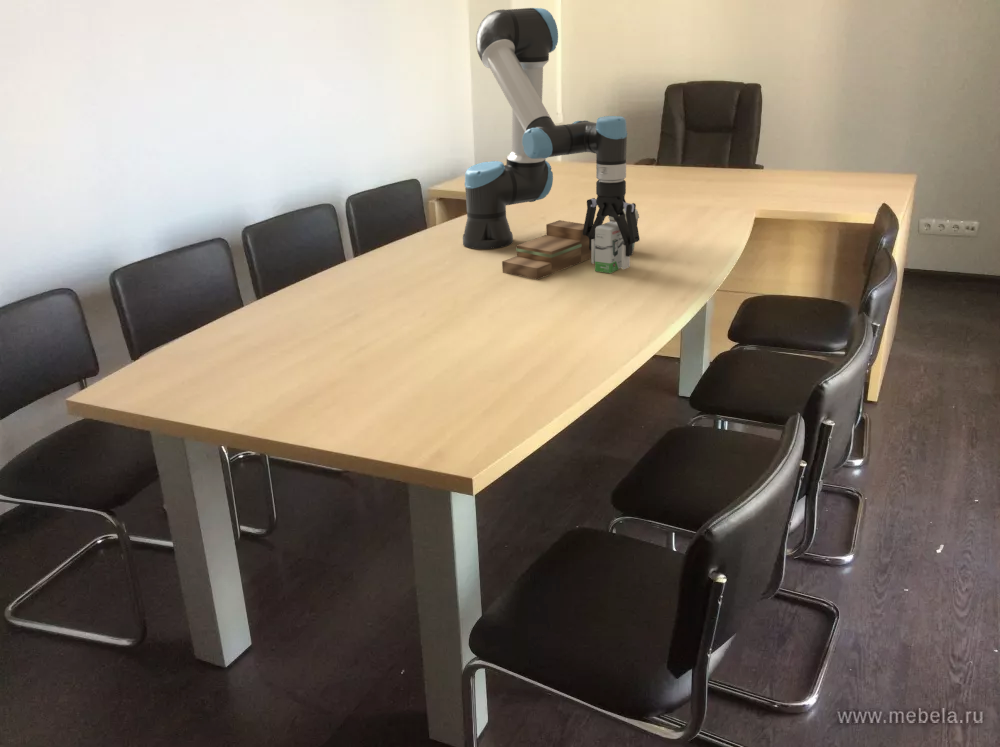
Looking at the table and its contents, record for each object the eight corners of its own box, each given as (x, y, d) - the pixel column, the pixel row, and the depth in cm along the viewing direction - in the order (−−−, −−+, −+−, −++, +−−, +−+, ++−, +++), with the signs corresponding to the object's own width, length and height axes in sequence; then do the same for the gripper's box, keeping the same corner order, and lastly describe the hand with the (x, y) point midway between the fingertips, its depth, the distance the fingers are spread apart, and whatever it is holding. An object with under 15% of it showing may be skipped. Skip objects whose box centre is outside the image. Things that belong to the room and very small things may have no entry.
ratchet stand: (502, 272, 226) (500, 239, 222) (559, 251, 242) (559, 220, 239) (537, 279, 218) (536, 245, 214) (594, 257, 235) (594, 225, 231)
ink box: (610, 274, 220) (610, 229, 215) (593, 271, 223) (593, 227, 218) (626, 265, 226) (626, 222, 221) (610, 263, 229) (610, 220, 224)
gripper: (568, 178, 219) (569, 262, 228) (639, 186, 206) (637, 275, 215) (585, 173, 224) (585, 255, 233) (655, 181, 211) (653, 267, 220)
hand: (610, 264), depth 224 cm, fingers open, 9 cm apart
